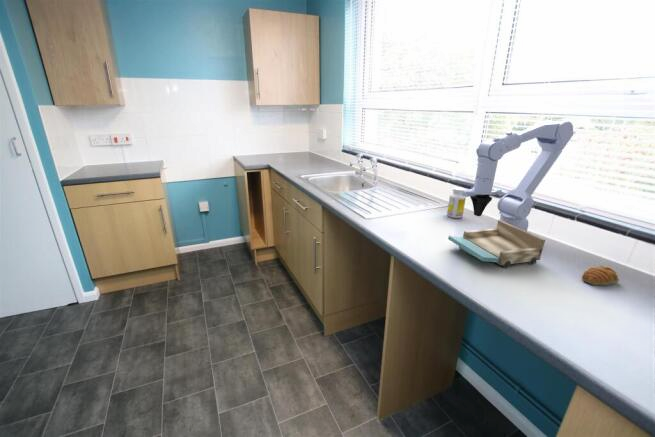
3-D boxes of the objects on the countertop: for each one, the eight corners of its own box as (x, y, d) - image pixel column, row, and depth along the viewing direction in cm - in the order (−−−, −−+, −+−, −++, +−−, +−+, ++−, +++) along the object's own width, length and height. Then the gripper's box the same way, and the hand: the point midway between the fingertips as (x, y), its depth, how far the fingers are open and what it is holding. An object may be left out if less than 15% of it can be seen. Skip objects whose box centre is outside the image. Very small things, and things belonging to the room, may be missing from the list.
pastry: (599, 290, 86) (604, 278, 84) (573, 278, 91) (577, 267, 90) (619, 283, 89) (624, 272, 88) (592, 273, 95) (596, 261, 94)
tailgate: (462, 237, 110) (448, 235, 108) (499, 258, 95) (483, 257, 93) (461, 241, 111) (447, 240, 109) (497, 263, 96) (481, 262, 94)
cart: (496, 241, 116) (500, 220, 113) (538, 263, 99) (545, 239, 97) (461, 244, 112) (465, 223, 109) (499, 268, 96) (505, 244, 93)
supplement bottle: (463, 215, 143) (468, 188, 138) (460, 219, 138) (465, 191, 133) (448, 212, 146) (452, 186, 142) (445, 216, 141) (449, 188, 136)
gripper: (493, 174, 112) (486, 210, 116) (459, 175, 108) (452, 213, 113) (509, 178, 105) (500, 216, 110) (472, 180, 102) (465, 219, 106)
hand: (477, 215), depth 111 cm, fingers closed
